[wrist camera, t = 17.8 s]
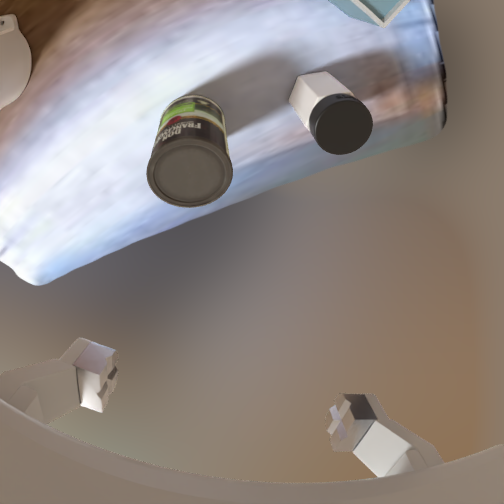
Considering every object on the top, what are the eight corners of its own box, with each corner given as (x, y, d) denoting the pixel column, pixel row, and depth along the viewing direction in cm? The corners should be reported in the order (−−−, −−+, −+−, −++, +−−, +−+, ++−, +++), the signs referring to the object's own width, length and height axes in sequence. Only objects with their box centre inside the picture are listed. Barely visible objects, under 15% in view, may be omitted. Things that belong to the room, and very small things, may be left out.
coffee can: (147, 113, 39) (130, 162, 31) (209, 84, 38) (212, 124, 29) (177, 161, 47) (172, 218, 38) (234, 137, 45) (245, 191, 37)
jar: (349, 98, 42) (384, 133, 34) (312, 127, 45) (338, 167, 38) (318, 59, 36) (351, 85, 29) (278, 91, 40) (299, 125, 32)
